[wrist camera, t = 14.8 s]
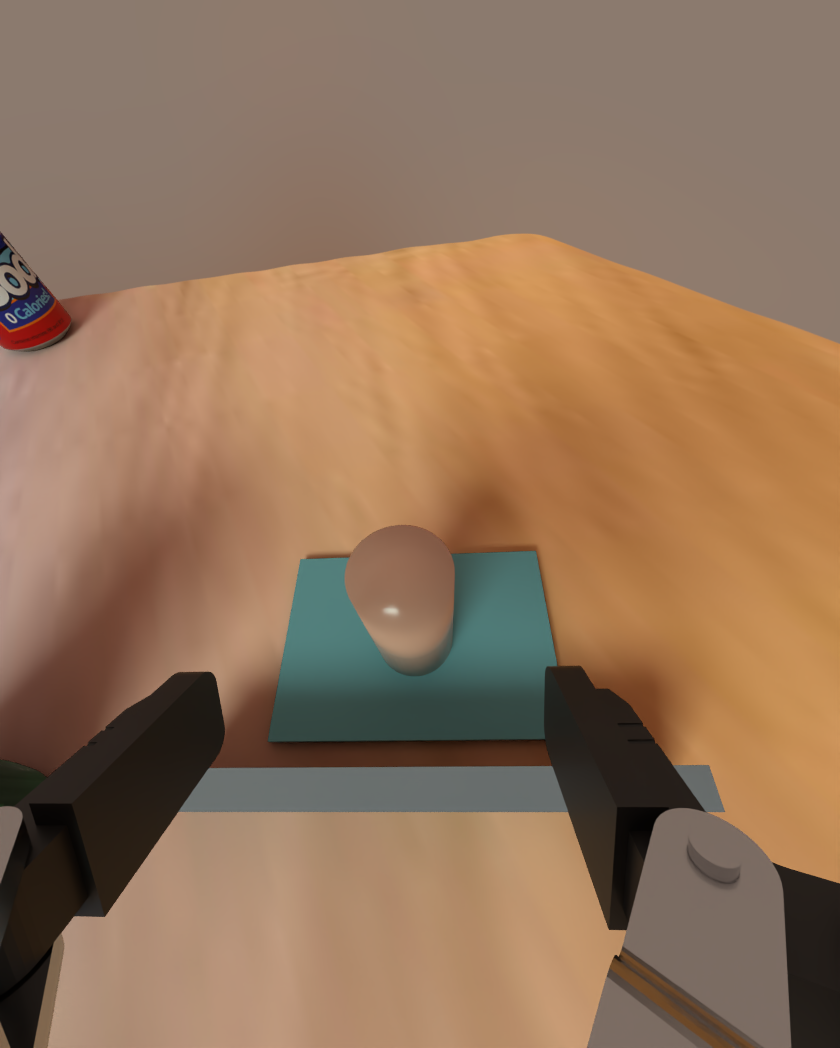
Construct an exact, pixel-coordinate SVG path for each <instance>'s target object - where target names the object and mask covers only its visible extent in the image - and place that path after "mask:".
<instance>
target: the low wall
mask: <svg viewBox="0 0 840 1048" xmlns="http://www.w3.org/2000/svg"><path fill="white" fill-rule="evenodd" d="M673 766H674V768H675V769H676V771H677V772H678V773H679V775H680V776H681V778H682V779H683V780H684V782H685V783H686V785H687V786H688V787H689V789H690V790H691V792H692V793H693V794H694V796H695V797H696V799H697V800H698V801H699V803H700V804H701V806H702V807H703V808H704V810H705V811H706V812H725V811H724V808H723V805H722V802H721V799H720V796H719V793H718V790H717V787H716V784H715V782H714V779H713V776H712V773H711V770H710V767H709V765H673ZM178 812H568V810H567V807H566V804H565V801H564V798H563V795H562V792H561V789H560V787H559V784H558V781H557V778H556V775H555V772H554V769H553V766H484V767H308V768H209V769H208V770H207V771H206V773H205V774H204V776H203V777H202V779H201V780H200V781H199V783H198V784H197V786H196V787H195V789H194V790H193V791H192V793H191V794H190V796H189V797H188V799H187V800H186V801H185V803H184V804H183V806H182V807H181V809H180V810H179V811H178Z"/></svg>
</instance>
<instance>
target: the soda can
mask: <svg viewBox="0 0 840 1048" xmlns="http://www.w3.org/2000/svg"><path fill="white" fill-rule="evenodd" d="M70 325H71V317H70V315H69V314H68V313H67V311H66V310H65V309H64V308H63V306H62V305H61V304H60V303H59V301H58V300H57V299H56V298H55V297H54V296H53V294H52V293H51V292H50V291H49V289H48V288H47V287H46V286H45V285H44V283H43V282H42V281H41V280H40V279H39V277H38V276H37V275H36V274H35V273H34V272H33V270H32V269H31V268H30V267H29V265H28V264H27V263H26V262H25V261H24V259H23V258H22V257H21V256H20V255H19V253H18V252H17V251H16V250H15V249H14V247H13V246H12V245H11V244H10V243H9V241H8V240H7V239H6V238H5V236H4V235H3V234H2V233H1V232H0V346H2V347H3V348H5V349H8V350H14V351H34V350H39V349H42V348H45V347H48V346H50V345H52V344H54V343H56V342H57V341H59V340H60V339H62V338H63V337H64V336H65V334H66V333H67V330H68V329H69V327H70Z"/></svg>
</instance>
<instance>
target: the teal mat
mask: <svg viewBox="0 0 840 1048" xmlns="http://www.w3.org/2000/svg"><path fill="white" fill-rule="evenodd" d="M451 555H452V558H453V562H454V567H455V584H454V617H453V642H452V648H451V651H450V653H449V655H448V657H447V659H446V660H445V662H444V663H443V664H442V665H441V666H440V667H439V668H438V669H436V670H435V671H433V672H431V673H429V674H426V675H423V676H406V675H403V674H400V673H398V672H396V671H395V670H393V669H392V668H391V667H389V666H388V664H387V663H386V662H385V661H384V659H383V658H382V656H381V654H380V652H379V650H378V649H377V647H376V645H375V643H374V642H373V640H372V638H371V636H370V634H369V633H368V631H367V629H366V627H365V626H364V624H363V622H362V620H361V618H360V617H359V615H358V613H357V611H356V610H355V608H354V606H353V604H352V602H351V601H350V599H349V597H348V594H347V591H346V587H345V569H346V565H347V562H348V560H349V558H323V559H301V560H300V565H299V571H298V576H297V582H296V587H295V593H294V598H293V604H292V609H291V615H290V620H289V626H288V631H287V637H286V642H285V648H284V653H283V659H282V664H281V670H280V675H279V681H278V686H277V692H276V697H275V703H274V708H273V714H272V719H271V725H270V730H269V736H268V741H267V742H357V741H464V740H545V734H544V689H545V670H546V667H547V666H557V661H556V656H555V651H554V645H553V640H552V635H551V629H550V624H549V619H548V613H547V608H546V603H545V597H544V592H543V586H542V581H541V576H540V570H539V565H538V560H537V554H536V551H519V552H491V553H463V554H451Z"/></svg>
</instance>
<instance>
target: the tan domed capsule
mask: <svg viewBox="0 0 840 1048" xmlns="http://www.w3.org/2000/svg"><path fill="white" fill-rule="evenodd" d="M454 584H455V567H454V562H453V558H452V555H451V553H450V551H449V549H448V548H447V546H446V545H445V544H444V543H443V542H442V540H441V539H439V538H438V537H437V536H436V535H434V534H433V533H431V532H429V531H427V530H425V529H423V528H420V527H416V526H410V525H396V526H390V527H386V528H383V529H380V530H378V531H376V532H374V533H372V534H370V535H369V536H367V537H366V538H365V539H363V540H362V541H361V542H360V543H359V544H358V545H357V546H356V548H355V549H354V550H353V552H352V554H351V555H350V557H349V560H348V562H347V565H346V569H345V587H346V591H347V594H348V597H349V599H350V601H351V602H352V604H353V606H354V608H355V610H356V611H357V613H358V615H359V617H360V618H361V620H362V622H363V624H364V626H365V627H366V629H367V631H368V633H369V634H370V636H371V638H372V640H373V642H374V643H375V645H376V647H377V649H378V650H379V652H380V654H381V656H382V658H383V659H384V661H385V662H386V663H387V664H388V666H389V667H391V668H392V669H393V670H395V671H396V672H398V673H400V674H403V675H406V676H423V675H426V674H429V673H431V672H433V671H435V670H436V669H438V668H439V667H440V666H441V665H442V664H443V663H444V662H445V660H446V659H447V657H448V655H449V653H450V651H451V648H452V642H453V617H454Z"/></svg>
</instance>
